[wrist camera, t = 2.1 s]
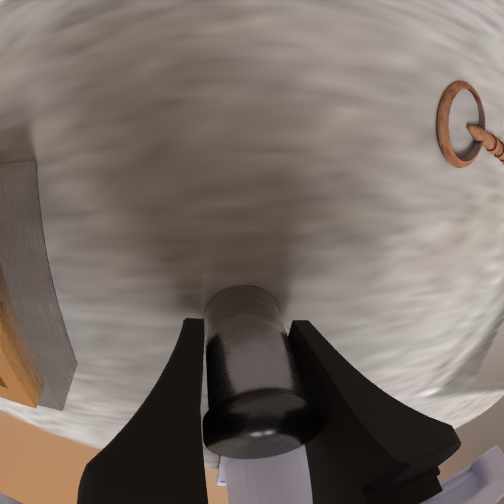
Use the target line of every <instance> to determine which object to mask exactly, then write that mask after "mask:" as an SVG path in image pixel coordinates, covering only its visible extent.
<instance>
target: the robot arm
mask: <svg viewBox="0 0 504 504" xmlns="http://www.w3.org/2000/svg"><path fill="white" fill-rule="evenodd" d="M204 335H205V331H204V319H196V318H186V319H185V320H184V321H183V326H182V330H181V333H180V336H179V338H178V341H177V344H176V346H175V348H174V350H173V352H172V355H171V357H170V359H169V361H168V363H167V365H166V367H165V369H164V370H163V372H162V374H161V376H160V378H159V379H158V381H157V383H156V384H155V386H154V388H153V389H152V391H151V392H150V394H149V395H148V397H147V398H146V400H145V401H144V403H143V404H142V405H141V407H140V408H139V409H138V411H137V412H136V413H135V415H134V416H133V417H132V418H131V420H130V421H129V422H128V423H127V424H126V425H125V427H124V428H123V429H122V430H121V431H120V432H119V433H118V434H117V435H116V437H115V438H114V439H113V440H112V441H111V442H110V443H109V444H108V445H107V446H106V447H105V448H104V449H103V450H102V451H100V452H99V453H98V454H97V455H96V456H95V457H94V458H93V459H92V460H91V461H90V462H89V463H88V464H87V465H86V467H85V470H84V472H83V475H82V477H81V480H80V484H79V489H78V500H77V504H208V497H207V488H206V479H205V469H204V458H203V445H202V431H201V414H200V406H201V392H202V377H203V354H204ZM288 340H289V343H290V346H291V349H292V352H293V355H294V358H295V361H296V364H297V367H298V370H299V373H300V377H301V380H302V383H303V386H304V389H305V392H306V394H308V395H309V396H311V397H312V398H313V399H314V400H315V401H316V404H317V407H318V410H319V412H320V415H321V418H322V421H323V425H322V429H321V430H320V432H319V433H318V435H317V436H316V437H315V438H313V439H312V440H311V441H310V442H308V443H306V444H305V445H303V446H301V447H299V448H297V449H295V450H293V451H290V452H287V453H284V454H281V455H277V456H273V457H267V458H260V459H234V458H228V457H224V456H221V457H220V464H219V470H218V476H217V485H220V486H221V485H223V486H226V485H227V492H228V500H229V504H496V503H497V502H498V501H499V500H500V499H501V498H502V497H503V496H504V455H503V454H502V452H501V450H500V448H499V446H498V445H496V446H495V447H493V448H491V449H490V450H489V451H487V452H486V453H484V454H483V455H482V456H480V457H479V458H477V459H476V460H475V461H474V462H472V463H471V465H469V466H468V467H466V468H465V469H463V470H461V471H459V472H458V473H456V474H454V475H453V476H451V477H449V478H447V479H446V480H444V481H442V482H440V483H439V481H438V478H437V475H439V474H440V470H439V468H438V466H439V465H440V464H441V463H443V462H444V461H445V460H446V459H448V458H449V457H450V456H451V455H453V454H454V453H455V452H456V451H457V450H458V449H459V448H460V446H461V441H460V440H459V438H458V436H457V434H456V432H455V431H454V429H453V427H452V425H449V424H446V423H444V422H441V421H438V420H436V419H433V418H431V417H428V416H426V415H424V414H422V413H420V412H418V411H416V410H414V409H412V408H410V407H408V406H406V405H405V404H403V403H401V402H400V401H398V400H396V399H395V398H393V397H391V396H390V395H388V394H387V393H385V392H384V391H383V390H381V389H380V388H379V387H377V386H376V385H375V384H373V383H372V382H371V381H369V380H368V379H367V378H366V377H364V376H363V375H362V374H361V373H360V372H359V371H357V370H356V369H355V368H354V367H353V366H352V365H351V364H350V363H349V362H348V361H347V360H346V359H344V358H343V357H342V356H341V355H340V354H339V353H338V352H337V351H336V350H335V348H334V347H333V346H332V345H331V344H330V343H329V342H328V341H327V340H326V339H325V338H324V337H323V336H322V335H321V334H320V333H319V331H318V330H317V329H316V328H315V327H314V326H313V325H312V324H311V323H310V322H309V321H308V320H293V321H292V325H291V328H290V332H289V335H288ZM0 504H22V503H20V502H18V501H17V500H15V499H12V498H10V497H8V496H6V495H4V494H2V493H0Z"/></svg>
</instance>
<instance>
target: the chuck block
mask: <svg viewBox="0 0 504 504" xmlns="http://www.w3.org/2000/svg"><path fill="white" fill-rule="evenodd" d="M76 367H77V362H76V359H75V356H74V354H73V351H72V348H71V345H70V342H69V339H68V336H67V333H66V330H65V327H64V323H63V320H62V317H61V313H60V310H59V306H58V302H57V299H56V295H55V291H54V287H53V283H52V278H51V274H50V269H49V264H48V259H47V254H46V249H45V243H44V237H43V231H42V224H41V216H40V208H39V199H38V187H37V173H36V161H22V162H9V163H0V397H2V398H5V399H8V400H11V401H14V402H17V403H20V404H23V405H27V406H30V407H33V408H36V407H37V405H40V406H44V407H48V408H52V409H56V410H60V411H63V409H64V405H65V402H66V398H67V395H68V392H69V388H70V385H71V382H72V379H73V376H74V373H75V370H76Z"/></svg>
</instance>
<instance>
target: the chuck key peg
mask: <svg viewBox="0 0 504 504" xmlns="http://www.w3.org/2000/svg"><path fill="white" fill-rule="evenodd" d="M205 338H206V367H207V389H208V407H209V410H208V411H207V413H206V414H205V416H204V418H203V422H202V423H203V441H204V444H205V446H206V447H207V448H208V449H209V450H210V451H212V452H213V453H215V454H218V455H220V456H224V457H228V458H234V459H260V458H267V457H273V456H277V455H281V454H284V453H287V452H290V451H293V450H295V449H297V448H299V447H301V446H303V445H305V444H306V443H308V442H310V441H311V440H312V439H313V438H315V437H316V436H317V435H318V433H319V432H320V430H321V429H322V425H323V421H322V418H321V415H320V412H319V410H318V407H317V404H316V401H315V400H314V399H313V398H312V397H311V396H309V395H308V394H306V392H305V389H304V386H303V383H302V380H301V377H300V373H299V370H298V367H297V364H296V361H295V358H294V355H293V352H292V349H291V346H290V343H289V340H288V337H287V334H286V331H285V328H284V325H283V322H282V319H281V316H280V313H279V309H278V306H277V304H276V301H275V300H274V298H273V297H272V296H271V295H270V294H269V293H268V292H266V291H265V290H263V289H261V288H258V287H254V286H247V285H241V286H234V287H230V288H228V289H225V290H223V291H221V292H220V293H218V294H217V295H215V296H214V297H213V298H212V299H211V301H210V302H209V303H208V305H207V307H206V311H205Z"/></svg>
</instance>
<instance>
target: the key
mask: <svg viewBox="0 0 504 504" xmlns="http://www.w3.org/2000/svg"><path fill="white" fill-rule="evenodd" d="M461 89H468V90H469V91H470V92H471V93H472V94H473V96H474V98H475V100H476V102H477V105H478V110H479V126H471V125H468V127H467V128H468V130H469V132H470V133H471V135H472V137H473V139H474V140H475V141H476V142H475V144H474V146H473V148H472V150H471V151H470V152H469V153H468V154H467V155H466V156H465V157H464V158H461V159H459V158H458V157H457V156H456V155H455V153H454V151H453V149H452V147H451V143H450V138H449V129H448V123H449V112H450V107H451V104H452V101H453V99H454V97H455V96H456V94H457V93H458V91H460V90H461ZM437 132H438V138H439V144H440V147H441V150H442V152H443V155H444V156H445V158H446V159H447V160H448V162H449V163H450V164H451V165H453V166H454V167H457V168H462V167H465V166H468V165H469V164H471V163H472V162H473V161H474V159H475V158H476V157H477V155H478V153H479V151H480V149H481V147H482V145H483V146H484V147H485V148H487V151H489V152H490V153H492V154H495V155H494V156H495V157H497V158H498V159H500V161H501V162H502V163H503V165H504V143H502V142H501V141H499V140H498V139H497V138H496V137H495V136H493V135H490V134H489V133H488V132H487V131H485V115H484V109H483V106H482V103H481V100H480V97H479V95H478V94H477V92H476V91H475V89H474V88H473V87H472V86H470V85H469V84H467V83H466V82H463V81H457V82H454V83H453V84H451V85H450V86H449V87H448V88H447V90H446V91H445V92H444V94H443V97H442V99H441V102H440V105H439V110H438V117H437Z"/></svg>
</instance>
